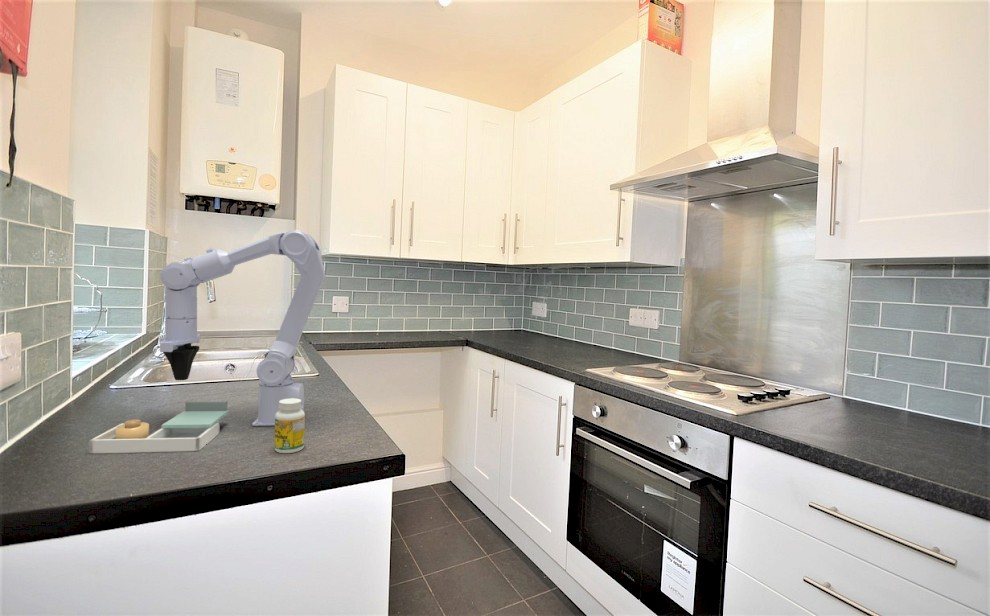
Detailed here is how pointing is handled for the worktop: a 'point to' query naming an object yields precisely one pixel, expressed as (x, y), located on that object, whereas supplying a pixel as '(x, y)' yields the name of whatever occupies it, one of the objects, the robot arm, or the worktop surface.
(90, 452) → the housing
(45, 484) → the worktop surface
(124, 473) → the worktop surface
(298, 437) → the supplement bottle
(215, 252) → the robot arm
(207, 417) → the lid
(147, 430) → the domed oval button
